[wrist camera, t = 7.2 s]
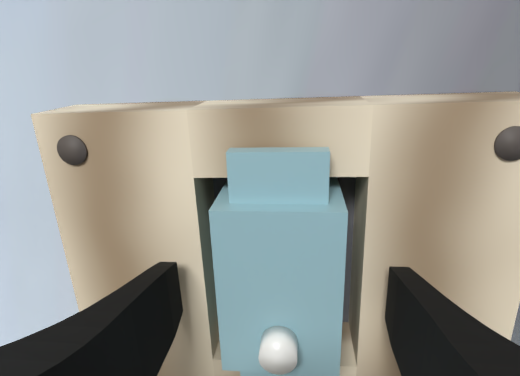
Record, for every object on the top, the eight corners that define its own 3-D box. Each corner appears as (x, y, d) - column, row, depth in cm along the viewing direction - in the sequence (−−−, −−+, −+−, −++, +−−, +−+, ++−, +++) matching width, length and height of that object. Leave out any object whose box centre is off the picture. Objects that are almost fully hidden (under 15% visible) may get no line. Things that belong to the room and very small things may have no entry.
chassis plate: (515, 91, 12) (569, 100, 10) (463, 365, 16) (493, 420, 14) (76, 104, 14) (28, 114, 12) (126, 348, 18) (98, 395, 16)
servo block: (336, 129, 13) (355, 165, 9) (329, 331, 16) (339, 434, 12) (229, 130, 14) (196, 165, 9) (241, 327, 17) (220, 425, 12)
